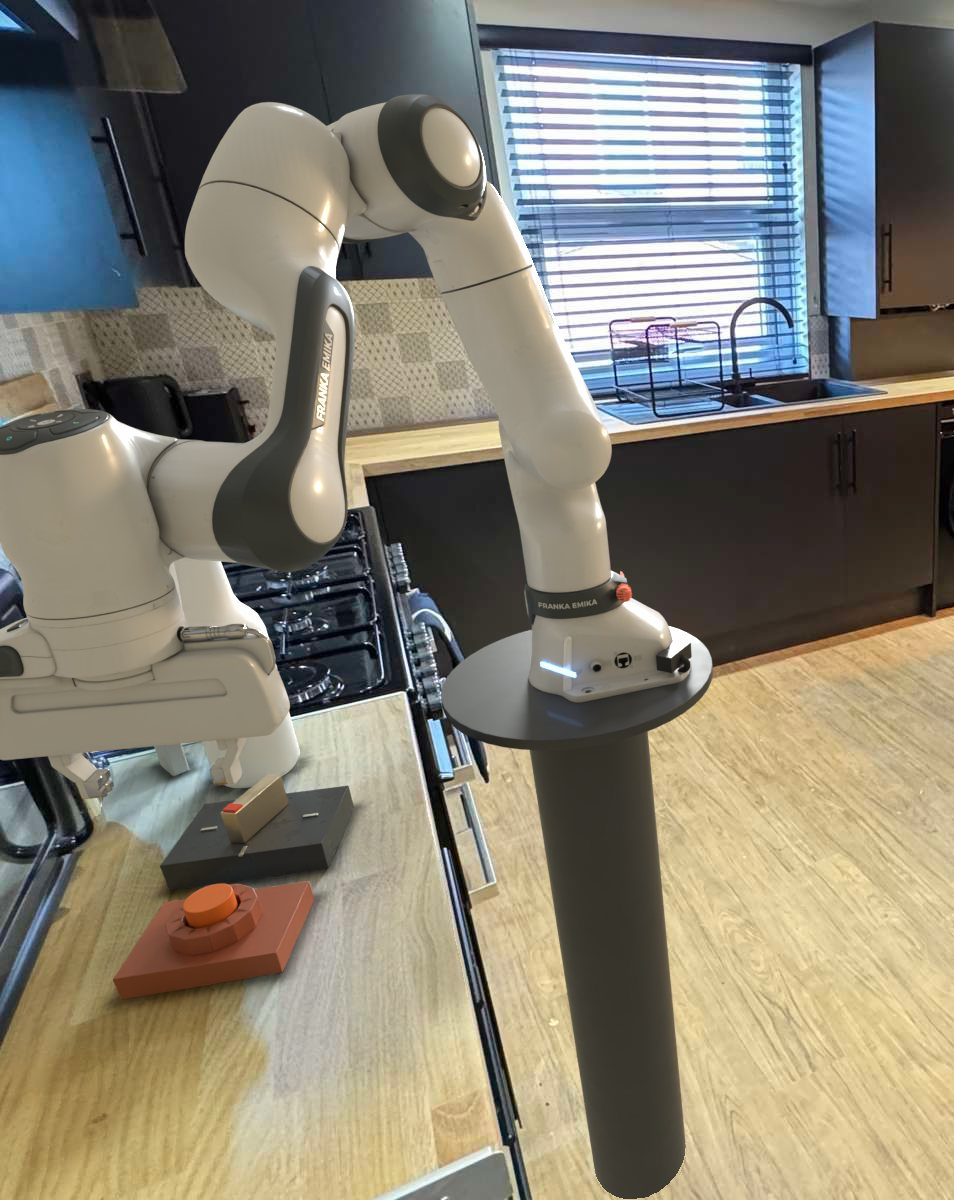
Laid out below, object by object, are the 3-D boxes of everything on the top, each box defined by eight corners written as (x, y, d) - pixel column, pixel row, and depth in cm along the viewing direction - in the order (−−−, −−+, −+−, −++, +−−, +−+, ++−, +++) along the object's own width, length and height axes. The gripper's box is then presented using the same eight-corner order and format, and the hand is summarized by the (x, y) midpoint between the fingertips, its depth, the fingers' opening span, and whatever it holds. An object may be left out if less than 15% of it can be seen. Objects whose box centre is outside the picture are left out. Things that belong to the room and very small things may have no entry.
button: (244, 896, 74) (239, 880, 74) (228, 925, 71) (222, 908, 70) (198, 902, 74) (193, 886, 73) (180, 932, 70) (174, 916, 70)
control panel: (355, 806, 92) (349, 782, 91) (327, 870, 83) (320, 844, 82) (213, 825, 90) (205, 800, 88) (167, 893, 80) (157, 866, 79)
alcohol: (215, 800, 94) (130, 544, 82) (215, 763, 101) (137, 522, 89) (304, 774, 98) (236, 529, 87) (299, 741, 105) (235, 509, 94)
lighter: (190, 769, 99) (170, 710, 96) (173, 776, 98) (152, 716, 95) (167, 750, 103) (147, 693, 100) (150, 756, 102) (130, 698, 99)
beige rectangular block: (274, 802, 88) (266, 772, 87) (289, 803, 88) (280, 773, 86) (229, 842, 82) (219, 810, 81) (245, 843, 82) (234, 811, 81)
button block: (314, 899, 79) (304, 865, 77) (282, 972, 71) (270, 936, 69) (171, 921, 77) (157, 886, 75) (120, 999, 68) (104, 962, 67)
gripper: (280, 607, 68) (316, 753, 73) (-12, 626, 64) (47, 780, 70) (250, 638, 63) (291, 794, 68) (-73, 661, 59) (-4, 826, 64)
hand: (165, 787), depth 69 cm, fingers open, 8 cm apart
